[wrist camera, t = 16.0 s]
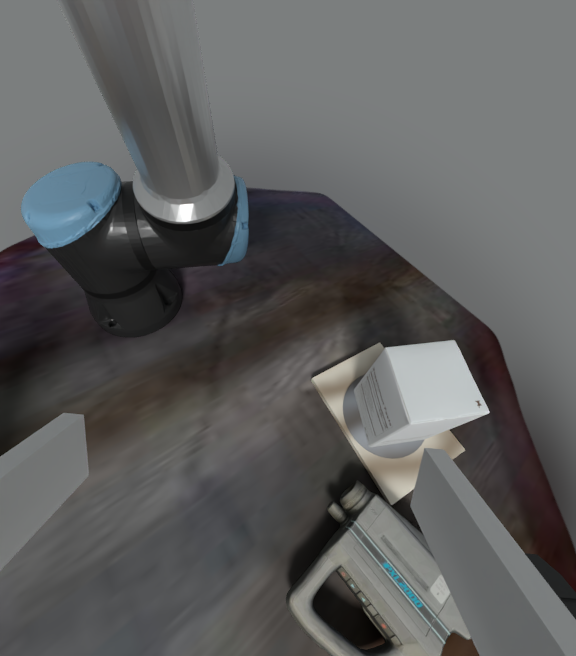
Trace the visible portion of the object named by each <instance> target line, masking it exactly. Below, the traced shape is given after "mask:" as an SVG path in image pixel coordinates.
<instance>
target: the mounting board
mask: <svg viewBox="0 0 576 656" xmlns="http://www.w3.org/2000/svg"><path fill="white" fill-rule="evenodd" d="M384 349H385V348H384V347H383V346H382V344H381V343H380V342H379V343H378V344H376V345H374V346H372V347H370V348H368V349H366V350H364V351H362V352H361V353H359V354H357V355H355V356H353V357H351V358H349V359H347V360H345V361H344V362H342V363H340V364H338V365H336V366H334V367H332V368H330V369H328V370H326V371H325V372H323V373H321V374H319V375H317V376H315V377H313V378H312V380H311V381H312V383H313V385H314V386H315V388H316V389H317V391H318V393H319V394H320V396H321V397H322V399H323V401H324V402H325V404H326V406H327V407H328V409H329V410H330V412H331V414H332V415H333V417H334V418H335V420H336V422H337V423H338V425H339V426H340V428H341V430H342V431H343V433H344V434H345V436H346V438H347V439H348V441H349V443H350V444H351V446H352V447H353V449H354V451H355V452H356V454H357V455H358V457H359V459H360V460H361V462H362V463H363V465H364V467H365V468H366V470H367V471H368V473H369V475H370V476H371V478H372V480H373V481H374V483H375V484H376V486H377V488H378V489H379V491H380V492H381V494H382V496H383V497H384V499H385V500H386V502H387V503H388V504H389V505H393V504H394V503H396V502H397V501H398V500H400V499H401V498H402V497H404V496H405V495H406V494H408V493H409V492H410V491H412V490H413V489H414V488H415V484H416V480H417V476H418V472H419V468H420V464H421V460H422V456H423V452H424V448H433V449H443V450H445V451H446V453H447V454H448V455H449V456H450V458H451V459H452V460H453V459H454V458H455V457H457V456H458V455H459V454H461V453H462V452H463V451H465V449H464V448H463V446H462V445H461V444H460V443H459V441H458V440H457V439H456V438H455V436H454V435H453V434H452V433H451V431H450V430H447V431H444V432H442V433H439V434H437V435H434V436H432V437H430V438H427V439H424V440H418V441H411V442H404V443H397V444H390V445H383V446H376V447H369V446H368V442H367V439H366V435H365V431H364V427H363V424H362V420H361V416H360V412H359V409H358V405H357V401H356V398H355V394H354V389H355V387H356V386H357V385H358V383H359V382H360V381H361V379H362V378H363V377H364V375H365V374H366V373H367V371H368V370H369V369H370V367H371V366H372V365H373V363H374V362H375V361H376V359H377V358H378V357H379V355H380V354H381V353H382V351H383V350H384Z"/></svg>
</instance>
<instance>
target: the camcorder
mask: <svg viewBox="0 0 576 656" xmlns="http://www.w3.org/2000/svg"><path fill="white" fill-rule="evenodd" d="M340 503H341V505H342V506H343V508H342V507H340V506H339V505H338V504H337V503H336V502H331V503H330V505H329V506H328V508H327V509H328V511H329V513H330V514H331V515H332V517H333V518H334V519H335V520H336V521H337V522H339V524H340V527H339V529H338V530H337V531H336V532H335V533H334V535H333V536H332V537H331V539H330V540H329V541H328V542H327V543H326V545H325V546H324V548H323V549H322V550H321V551H320V553H319V554H318V556H317V557H316V559H315V560H314V561H313V563H312V564H311V565H310V566H309V568H308V569H307V570H306V571H305V572H304V573H303V574H302V576H301V577H300V578H299V579H298V580H297V582H296V583H295V584H294V585H293V586H292V587H291V589H290V590H289V591H288V593H287V597H286V605H287V609H288V611H289V612H290V614H291V615H292V616H293V618H294V620H295V621H296V623H297V624H298V625H299V627H300V628H301V629H302V630H303V631H304V633H306V634H307V635H308V636H309V637H310V638H311V639H312V640H313V641H314V642H315V643H316V644H317V645H318V646H319V647H320V648H322V649H324V650H326V651H327V652H328V653H329V654H330V655H331V656H441V654H442V650H443V647H444V645H445V643H446V640H447V638H448V637H449V635H450V634H451V633H452V632H454V633H456V634H458V635H460V636H461V637H463V638H464V639H467V640H468V639H470V638H471V636H470V634H469V632H468V629H467V627H466V625H465V623H464V621H463V619H462V617H461V614H460V612H459V610H458V608H457V606H456V604H455V601H454V599H453V597H452V595H451V593H450V591H449V589H448V586H447V584H446V582H445V580H444V578H443V576H442V573H441V571H440V569H439V567H438V565H437V563H436V561H435V558H434V556H433V554H432V552H431V550H430V548H429V546H428V543H427V541H426V539H425V537H424V535H423V533H421V532H420V531H419V530H418V529H416V528H415V527H414V526H413V525H412V524H411V523H410V522H409V521H408V520H406V519H405V518H404V517H403V516H402V515H400V514H399V513H398V512H397V511H396V510H395V509H394V508H392V507H391V506H390V505H389V504H388V503H387V502H386V501H385V500H383V499H382V498H381V497H380V496H379V495H377V494H374V493H372V492H370V491H369V490H368V489H367V488H366V487H365V486H364V485H363V484H362V483H360V482H359V481H358V480H357V481H355V482H354V483H353V484H352V485H351V486H350V487H349V488H348V489H347V490H345V491H344V493H343V494H342V495H341V497H340ZM334 571H336V572H337V573H338V575H339V576H340V577H341V578H342V580H343V581H344V582H345V583H346V585H347V586H348V588H349V589H350V590H351V591H352V593H353V594H354V595H355V597H356V598H357V599H358V601H359V602H360V603H361V605H362V608H363V611H364V612H365V614H366V615H367V616H368V618H369V619H370V620H371V622H372V623H373V624H374V625H375V627H376V628H377V629H378V631H379V632H380V633H381V635H382V636H383V638H384V640H385V643H384V644H382V645H380V646H377V647H374V648H371V649H367V650H365V649H360V648H358V647H357V646H356V645H355V644H353V643H352V642H351V641H349V640H348V639H347V638H345V637H344V636H343V635H342V634H341V633H340V632H338V631H337V630H336V629H335V628H334V627H332V626H331V625H330V624H328V623H327V622H326V621H325V620H324V619H323V618H322V617H320V615H319V614H318V613H317V611H316V610H315V609H314V606H313V599H314V596H315V595H316V593H317V591H318V590H319V588H320V587H321V586H322V584H323V583H324V582H325V581H326V580H327V579H328V577H329V576H330V575H331V574H332V573H333V572H334Z"/></svg>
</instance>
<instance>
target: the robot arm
mask: <svg viewBox="0 0 576 656" xmlns="http://www.w3.org/2000/svg"><path fill="white" fill-rule="evenodd" d="M57 1H58V4H59V6H60V8H61V10H62V12H63V14H64V16H65V19H66V21H67V23H68V25H69V27H70V29H71V31H72V33H73V35H74V37H75V40H76V42H77V44H78V46H79V48H80V50H81V52H82V54H83V56H84V58H85V60H86V62H87V65H88V67H89V69H90V71H91V73H92V75H93V77H94V79H95V81H96V83H97V85H98V88H99V90H100V92H101V94H102V96H103V98H104V100H105V102H106V104H107V107H108V109H109V111H110V113H111V115H112V117H113V119H114V121H115V123H116V125H117V128H118V130H119V132H120V134H121V136H122V138H123V140H124V142H125V144H126V146H127V148H128V151H129V152H130V155H131V157H132V159H133V161H134V163H135V165H136V167H137V169H136V172H135V174H134V178H133V181H131V182H121V180H120V177H119V176H118V174H117V173H115V171H114V170H113V169H112V168H111V167H109V166H107V165H103V164H102V163H98V162H80V163H75V164H70V165H67V166H64V167H61V168H58V169H56V170H54V171H52V172H50V173H48V174H47V175H45V176H44V177H42V178H40V179H39V180H38V181H36V182H35V183H34V184H33V185H32V186H31V188H29V190H28V191H27V193H26V194H25V196H24V198H23V201H22V205H21V212H22V216H23V219H24V221H25V222H26V224H27V225H28V226H29V228H30V229H31V230H32V232H33V233H34V234H35V236H36V237H37V239H38V241H39V243H40V244H41V245H42V246H43V247H45V248H46V249H47V250H48V251H49V252H50V253H51V255H52V256H53V257H54V258H55V259H56V260H57V261H58V262H59V263H60V264H61V265H62V267H63V268H64V269H65V270H66V271H67V272H68V273H69V274H70V275H71V276H72V278H73V279H74V280H75V281H76V282H77V283H78V284H79V285H80V286H81V288H82V289H83V290H84V291H85V295H86V298H87V302H88V305H89V309H90V312H91V314H92V316H93V318H94V319H95V321H96V322H97V323H98V324H99V325H100V326H101V327H102V328H103V329H104V330H106V331H107V332H109V333H111V334H113V335H116V336H120V337H139V336H144V335H147V334H150V333H153V332H155V331H157V330H159V329H161V328H162V327H164V326H165V325H166V324H168V323H169V322H170V321H171V320H172V319H173V318H174V316H175V315H176V314H177V312H178V310H179V308H180V306H181V302H182V292H181V288H180V286H179V284H178V281H177V279H176V278H175V276H174V275H173V274H172V273H171V272H170V271H169V270H168V269H173V268H185V267H199V266H213V265H217V266H222V265H224V264H228V263H235V262H239V261H241V260H242V259H243V258H244V257H245V255H246V252H247V247H248V236H249V229H248V218H249V212H248V198H247V191H246V186H245V182H244V180H243V179H242V178H240V177H236V176H235V175H233V173H232V170H231V168H230V166H229V165H228V163H227V162H226V161H225V160H224V159H223V158H222V157H221V156H219V155H218V154H217V148H216V142H215V136H214V129H213V123H212V116H211V110H210V104H209V98H208V92H207V85H206V79H205V72H204V67H203V60H202V53H201V47H200V41H199V35H198V29H197V23H196V16H195V10H194V4H193V0H57ZM88 476H89V471H88V459H87V448H86V436H85V424H84V415H80V414H70V413H63V414H61V415H60V416H58V417H57V418H56V419H54V420H53V421H51V422H50V423H48V424H47V425H45V426H44V427H42V428H41V429H40V430H38V431H37V432H35V433H34V434H32V435H31V436H29V437H28V438H27V439H25V440H24V441H22V442H21V443H19V444H18V445H16V446H15V447H13V448H12V449H11V450H9V451H8V452H6V453H5V454H3V455H2V456H0V571H1V570H2V569H3V568H4V567H5V565H6V564H7V563H8V562H9V561H10V560H11V559H12V558H13V557H14V556H15V555H16V554H17V552H18V551H19V550H20V549H21V548H22V547H23V546H24V545H25V544H26V543H27V542H28V541H29V540H30V538H31V537H32V536H33V535H34V534H35V533H36V532H37V531H38V530H39V529H40V528H41V527H42V526H43V524H44V523H45V522H46V521H47V520H48V519H49V518H50V517H51V516H52V515H53V514H54V513H55V511H56V510H57V509H58V508H59V507H60V506H61V505H62V504H63V503H64V502H65V501H66V500H67V499H68V497H69V496H70V495H71V494H72V493H73V492H74V491H75V490H76V489H77V488H78V487H79V486H80V484H81V483H82V482H83V481H84V480H85V479H86V478H87V477H88ZM410 507H411V509H412V511H413V513H414V515H415V518H416V520H417V522H418V524H419V526H420V528H421V530H422V533H423V535H424V537H425V539H426V541H427V543H428V546H429V548H430V550H431V552H432V554H433V556H434V558H435V561H436V563H437V565H438V567H439V569H440V571H441V573H442V576H443V578H444V580H445V582H446V584H447V586H448V589H449V591H450V593H451V595H452V597H453V599H454V601H455V604H456V606H457V608H458V610H459V612H460V614H461V617H462V619H463V621H464V623H465V625H466V627H467V629H468V632H469V634H470V636H471V638H472V640H473V642H474V644H475V647H476V649H477V651H478V653H479V655H480V656H576V593H575V591H574V590H573V589H572V588H571V587H570V585H569V584H568V583H567V582H566V581H565V579H564V578H563V577H562V576H561V575H560V574H559V573H558V572H557V571H556V570H554V569H553V568H552V567H551V566H550V565H549V564H547V563H546V562H545V561H544V560H543V559H542V558H540V557H539V556H538V555H536V554H525V553H524V552H523V551H522V549H521V548H520V547H519V546H518V544H517V543H516V542H515V540H514V539H513V538H512V537H511V535H510V534H509V533H508V531H507V530H506V529H505V528H504V526H503V525H502V524H501V522H500V521H499V520H498V518H497V517H496V516H495V515H494V513H493V512H492V511H491V509H490V508H489V507H488V506H487V504H486V503H485V502H484V500H483V499H482V498H481V497H480V495H479V494H478V493H477V491H476V490H475V489H474V487H473V486H472V485H471V484H470V482H469V481H468V480H467V478H466V477H465V476H464V475H463V473H462V472H461V471H460V469H459V468H458V467H457V466H456V464H455V463H454V462H453V460H452V459H451V458H450V456H449V455H448V454H447V453H446V451H445V450H443V449H433V448H424V452H423V456H422V460H421V464H420V468H419V472H418V476H417V480H416V484H415V488H414V492H413V496H412V500H411V504H410Z"/></svg>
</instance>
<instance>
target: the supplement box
mask: <svg viewBox="0 0 576 656" xmlns="http://www.w3.org/2000/svg"><path fill="white" fill-rule="evenodd" d="M354 394H355V398H356V401H357V405H358V409H359V412H360V416H361V420H362V424H363V427H364V431H365V435H366V439H367V442H368V446H369V447H376V446H383V445H390V444H397V443H404V442H411V441H418V440H424V439H427V438H430V437H432V436H434V435H437V434H439V433H442V432H444V431H447V430H449V429H452V428H454V427H457V426H459V425H461V424H464V423H466V422H469V421H471V420H474V419H476V418H479V417H481V416H483V415H486V414H488V413H490V412H489V409H488V407H487V405H486V403H485V402H484V400H483V398H482V396H481V394H480V392H479V390H478V387H477V385H476V383H475V381H474V379H473V377H472V375H471V373H470V371H469V369H468V367H467V364H466V362H465V360H464V358H463V356H462V354H461V351H460V350H459V348H458V346H457V344H456V342H455V340H450V341H441V342H431V343H422V344H413V345H403V346H395V347H385V349H384V350H383V351H382V353H381V354H380V355H379V357H378V358H377V359H376V361H375V362H374V363H373V365H372V366H371V367H370V369H369V370H368V371H367V373H366V374H365V375H364V377H363V378H362V379H361V381H360V382H359V383H358V385H357V386H356V387H355V389H354Z"/></svg>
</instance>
